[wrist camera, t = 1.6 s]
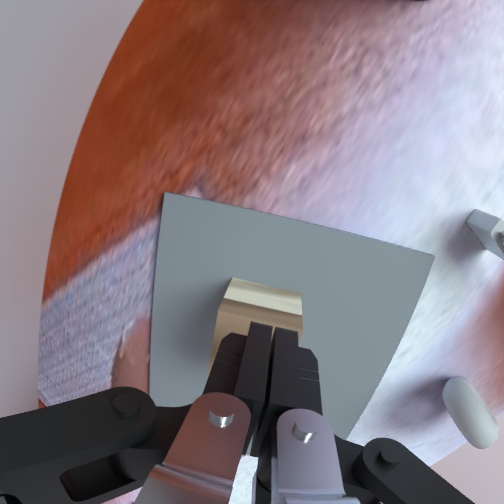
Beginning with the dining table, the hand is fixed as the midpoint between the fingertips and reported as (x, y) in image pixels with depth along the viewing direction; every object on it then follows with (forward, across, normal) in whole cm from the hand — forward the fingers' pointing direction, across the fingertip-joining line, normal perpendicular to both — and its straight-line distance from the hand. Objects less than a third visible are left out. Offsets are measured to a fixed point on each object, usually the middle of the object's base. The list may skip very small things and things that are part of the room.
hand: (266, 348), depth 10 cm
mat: (+17, -2, +14) cm, 22 cm away
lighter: (+17, -20, -4) cm, 27 cm away
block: (+16, 0, +8) cm, 18 cm away
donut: (+17, -25, +13) cm, 33 cm away
